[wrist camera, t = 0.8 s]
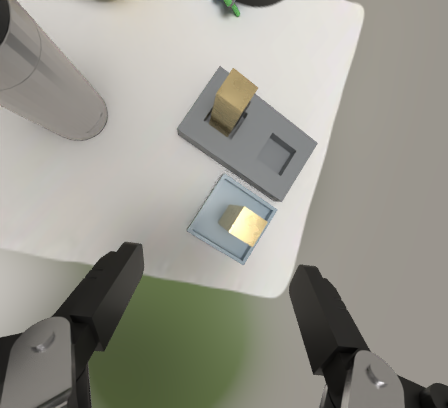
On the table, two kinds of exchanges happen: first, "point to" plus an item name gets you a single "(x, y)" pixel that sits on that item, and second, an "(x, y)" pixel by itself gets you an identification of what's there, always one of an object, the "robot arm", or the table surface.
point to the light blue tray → (214, 209)
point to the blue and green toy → (230, 2)
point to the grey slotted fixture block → (250, 142)
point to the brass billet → (243, 223)
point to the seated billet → (231, 102)
